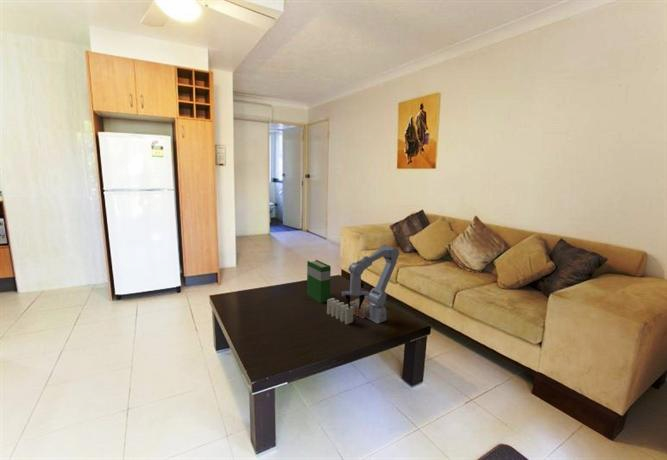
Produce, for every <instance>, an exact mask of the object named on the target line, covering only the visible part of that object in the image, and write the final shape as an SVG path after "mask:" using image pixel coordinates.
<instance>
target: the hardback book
mask: <svg viewBox="0 0 667 460" xmlns="http://www.w3.org/2000/svg"><path fill="white" fill-rule="evenodd" d="M306 263H307V265H306V268H307V270H306V272H307V273H306V295H308V297H310V298H312V299H314V300H315V301H317V302H318V303H319V304H320V303H321V304H322V303H327V300H328V299H331V269H332V268H331V265H329V264H327V263H325V262H322V261H320V260H318V259H315V261H310V260H307V262H306Z"/></svg>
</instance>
